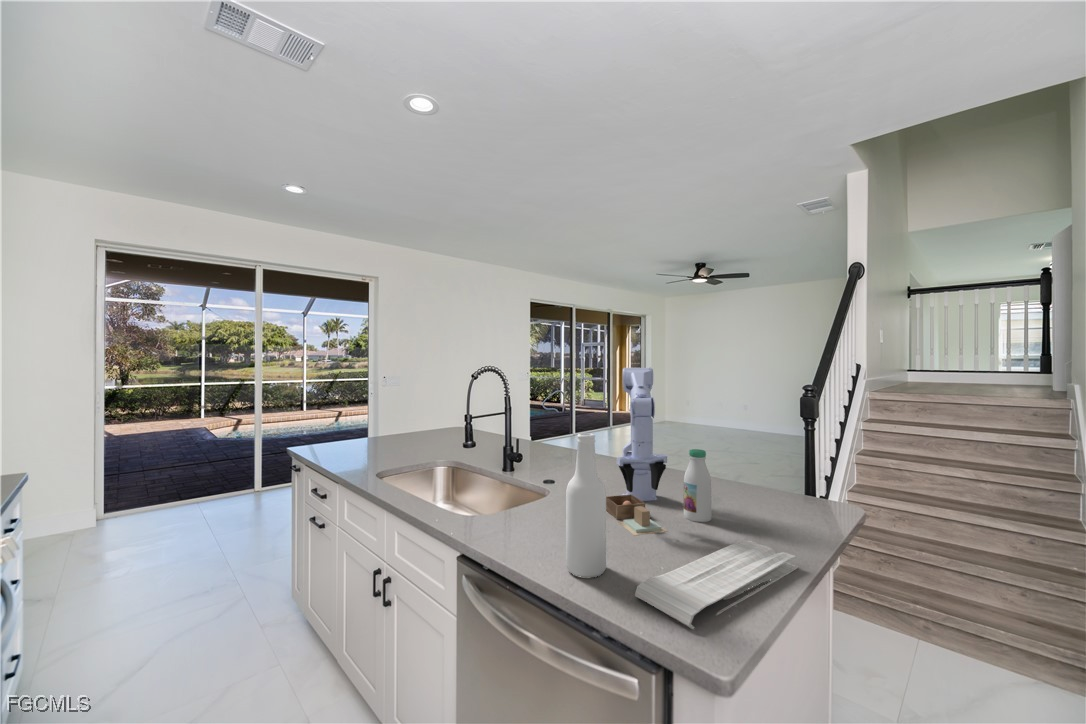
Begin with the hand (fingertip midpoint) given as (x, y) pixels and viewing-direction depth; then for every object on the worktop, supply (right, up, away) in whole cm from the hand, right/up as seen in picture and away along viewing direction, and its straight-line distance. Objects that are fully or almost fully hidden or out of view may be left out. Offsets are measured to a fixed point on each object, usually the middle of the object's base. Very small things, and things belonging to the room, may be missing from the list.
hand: (642, 490), depth 122 cm
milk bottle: (+18, -11, +7) cm, 22 cm away
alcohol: (-18, -11, -25) cm, 32 cm away
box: (-3, -10, +11) cm, 15 cm away
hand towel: (+10, -11, -31) cm, 34 cm away
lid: (0, -10, 0) cm, 10 cm away
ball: (-2, -10, +13) cm, 16 cm away
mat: (0, -10, 0) cm, 10 cm away
